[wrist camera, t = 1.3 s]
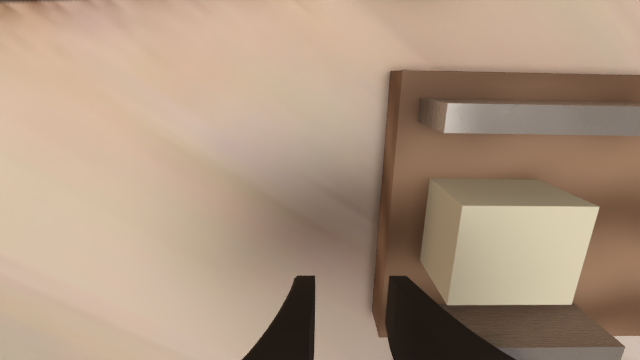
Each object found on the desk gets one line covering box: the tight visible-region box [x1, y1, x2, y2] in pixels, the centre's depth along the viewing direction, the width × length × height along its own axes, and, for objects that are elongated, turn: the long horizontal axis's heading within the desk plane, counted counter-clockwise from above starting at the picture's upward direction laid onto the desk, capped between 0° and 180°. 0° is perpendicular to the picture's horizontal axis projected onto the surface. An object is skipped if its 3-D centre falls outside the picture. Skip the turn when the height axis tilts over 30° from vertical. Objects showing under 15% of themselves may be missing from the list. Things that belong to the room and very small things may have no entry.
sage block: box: [420, 178, 599, 305], centre depth 17 cm, size 5×6×4 cm
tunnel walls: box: [418, 98, 640, 360], centre depth 17 cm, size 13×11×4 cm
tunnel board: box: [372, 70, 640, 337], centre depth 20 cm, size 16×31×2 cm, turn 89°
